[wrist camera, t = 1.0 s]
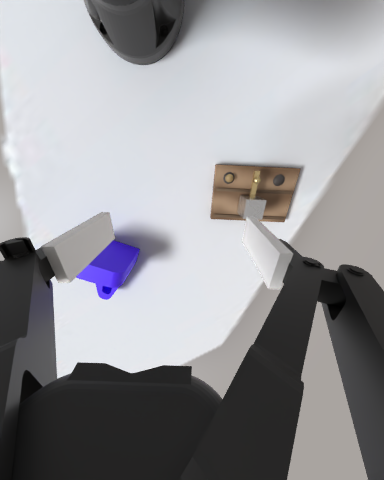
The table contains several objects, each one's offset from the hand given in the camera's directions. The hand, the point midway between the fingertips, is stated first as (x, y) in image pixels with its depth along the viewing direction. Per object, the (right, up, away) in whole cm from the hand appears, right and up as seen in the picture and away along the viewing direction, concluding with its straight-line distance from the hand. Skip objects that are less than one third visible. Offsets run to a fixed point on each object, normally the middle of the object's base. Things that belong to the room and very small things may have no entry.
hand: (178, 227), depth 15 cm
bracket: (-22, -9, +32) cm, 40 cm away
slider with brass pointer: (+14, +9, +20) cm, 27 cm away
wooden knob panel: (+15, +10, +22) cm, 29 cm away
